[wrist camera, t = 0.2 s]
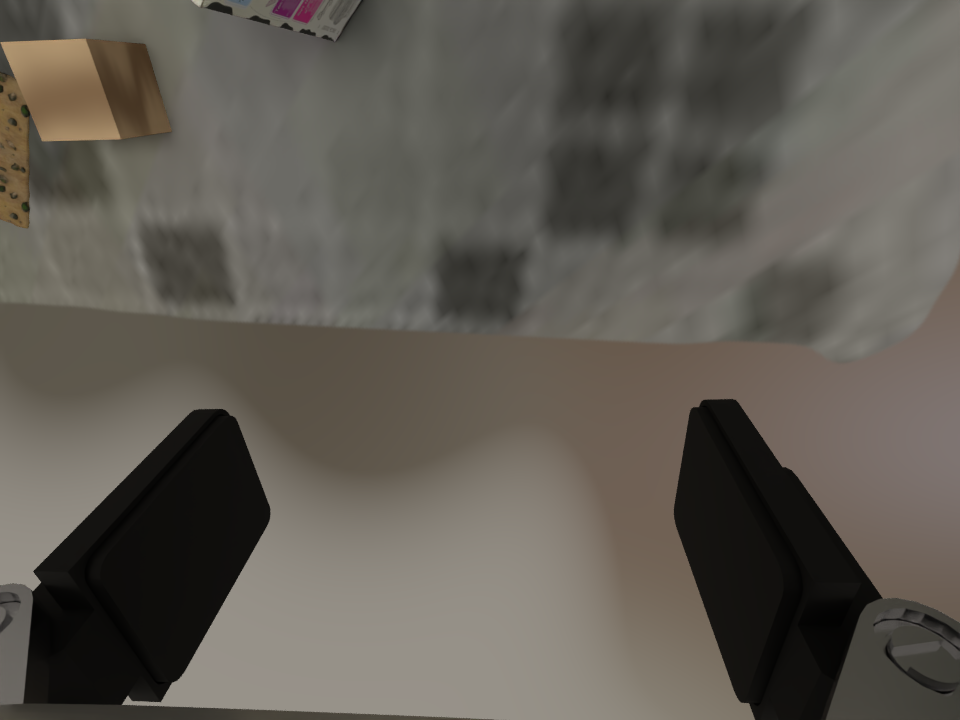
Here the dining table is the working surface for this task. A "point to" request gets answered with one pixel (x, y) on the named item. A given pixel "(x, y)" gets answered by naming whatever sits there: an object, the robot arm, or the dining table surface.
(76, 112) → the oak block
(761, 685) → the robot arm
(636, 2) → the dining table surface
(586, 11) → the dining table surface
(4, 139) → the cookie
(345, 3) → the candy bar box
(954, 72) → the dining table surface
